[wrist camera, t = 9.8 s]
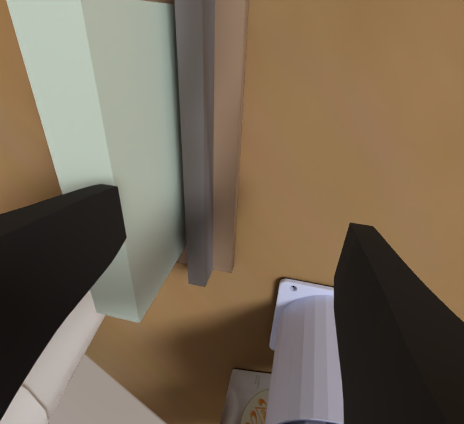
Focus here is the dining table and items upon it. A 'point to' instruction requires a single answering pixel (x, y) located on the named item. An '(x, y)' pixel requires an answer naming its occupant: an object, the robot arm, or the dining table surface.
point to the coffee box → (246, 398)
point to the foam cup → (55, 366)
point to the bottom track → (210, 127)
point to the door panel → (113, 126)
